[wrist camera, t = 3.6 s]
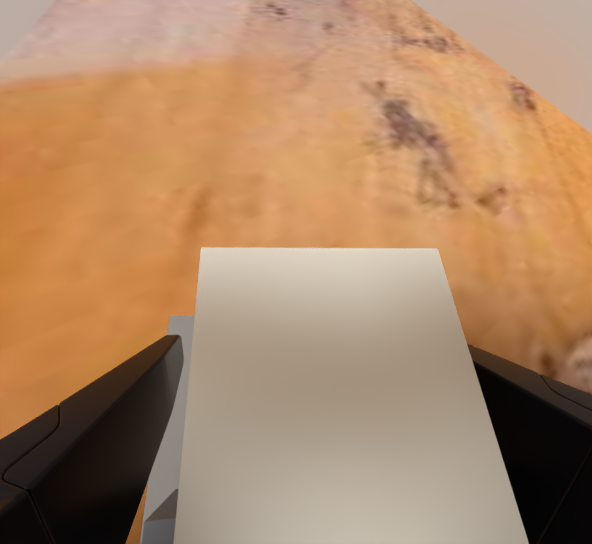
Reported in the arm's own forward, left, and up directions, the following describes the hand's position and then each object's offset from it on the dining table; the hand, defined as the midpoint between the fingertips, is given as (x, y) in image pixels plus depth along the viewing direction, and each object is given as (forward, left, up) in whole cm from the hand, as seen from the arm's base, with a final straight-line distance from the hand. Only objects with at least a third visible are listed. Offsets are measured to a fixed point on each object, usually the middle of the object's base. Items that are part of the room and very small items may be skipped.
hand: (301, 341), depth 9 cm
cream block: (-1, +1, -4) cm, 4 cm away
